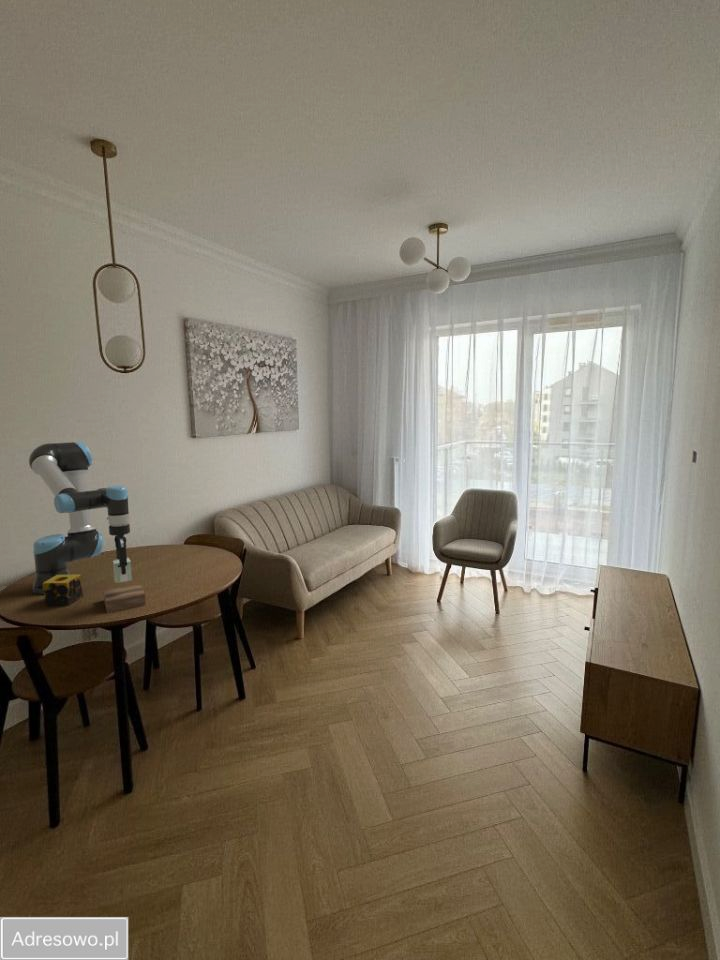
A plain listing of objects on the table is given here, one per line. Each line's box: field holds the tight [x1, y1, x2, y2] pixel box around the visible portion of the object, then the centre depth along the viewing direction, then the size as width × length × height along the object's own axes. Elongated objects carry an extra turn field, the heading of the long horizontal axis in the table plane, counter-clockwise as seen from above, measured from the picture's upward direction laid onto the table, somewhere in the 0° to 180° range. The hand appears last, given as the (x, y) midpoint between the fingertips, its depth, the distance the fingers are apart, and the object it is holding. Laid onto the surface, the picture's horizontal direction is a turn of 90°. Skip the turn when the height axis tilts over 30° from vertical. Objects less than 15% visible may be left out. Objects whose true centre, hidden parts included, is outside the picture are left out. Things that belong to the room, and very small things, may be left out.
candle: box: [43, 573, 84, 606], centre depth 192 cm, size 10×10×10 cm
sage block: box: [112, 557, 133, 584], centre depth 190 cm, size 6×6×8 cm
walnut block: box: [102, 583, 146, 613], centre depth 192 cm, size 14×14×5 cm
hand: (123, 578), depth 190 cm, fingers closed on sage block, 6 cm apart
